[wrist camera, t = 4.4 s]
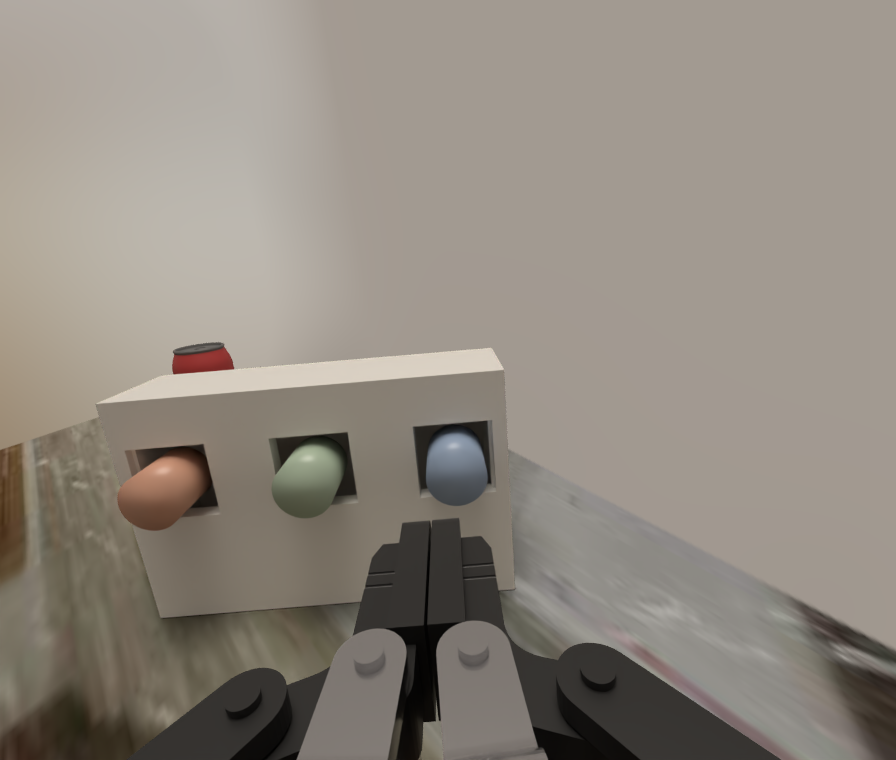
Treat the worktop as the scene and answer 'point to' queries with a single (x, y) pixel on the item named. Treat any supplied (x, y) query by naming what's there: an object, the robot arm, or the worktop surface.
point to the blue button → (455, 466)
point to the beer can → (201, 358)
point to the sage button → (310, 477)
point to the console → (273, 441)
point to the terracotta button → (165, 489)
